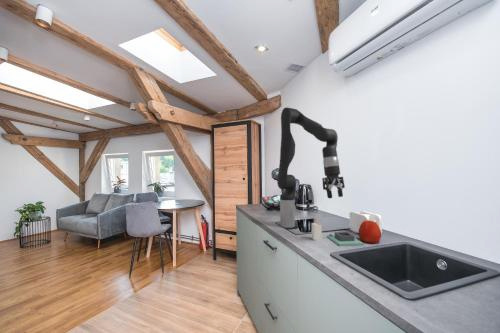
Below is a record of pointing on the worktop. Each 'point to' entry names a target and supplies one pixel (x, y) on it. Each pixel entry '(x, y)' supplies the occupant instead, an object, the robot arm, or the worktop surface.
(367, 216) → the cable organizer
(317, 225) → the plug
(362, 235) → the apple
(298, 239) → the worktop surface
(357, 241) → the board
